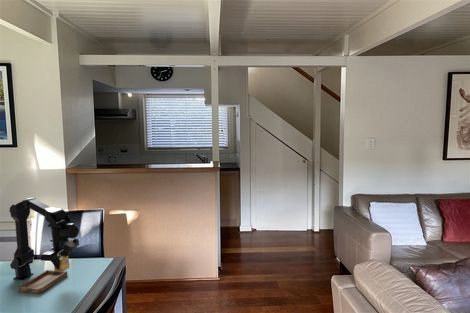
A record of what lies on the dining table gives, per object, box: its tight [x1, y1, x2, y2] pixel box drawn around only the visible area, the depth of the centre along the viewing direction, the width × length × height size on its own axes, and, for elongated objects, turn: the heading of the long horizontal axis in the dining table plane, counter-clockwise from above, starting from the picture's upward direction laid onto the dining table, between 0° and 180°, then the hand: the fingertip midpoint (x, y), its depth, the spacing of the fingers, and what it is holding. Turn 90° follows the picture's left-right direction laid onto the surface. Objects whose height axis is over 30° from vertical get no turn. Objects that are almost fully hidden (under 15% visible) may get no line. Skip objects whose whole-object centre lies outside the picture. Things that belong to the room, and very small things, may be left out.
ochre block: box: [53, 254, 70, 272], centre depth 158 cm, size 4×4×6 cm
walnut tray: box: [17, 269, 68, 295], centre depth 161 cm, size 12×18×2 cm, turn 169°
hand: (61, 266), depth 158 cm, fingers closed on ochre block, 4 cm apart
